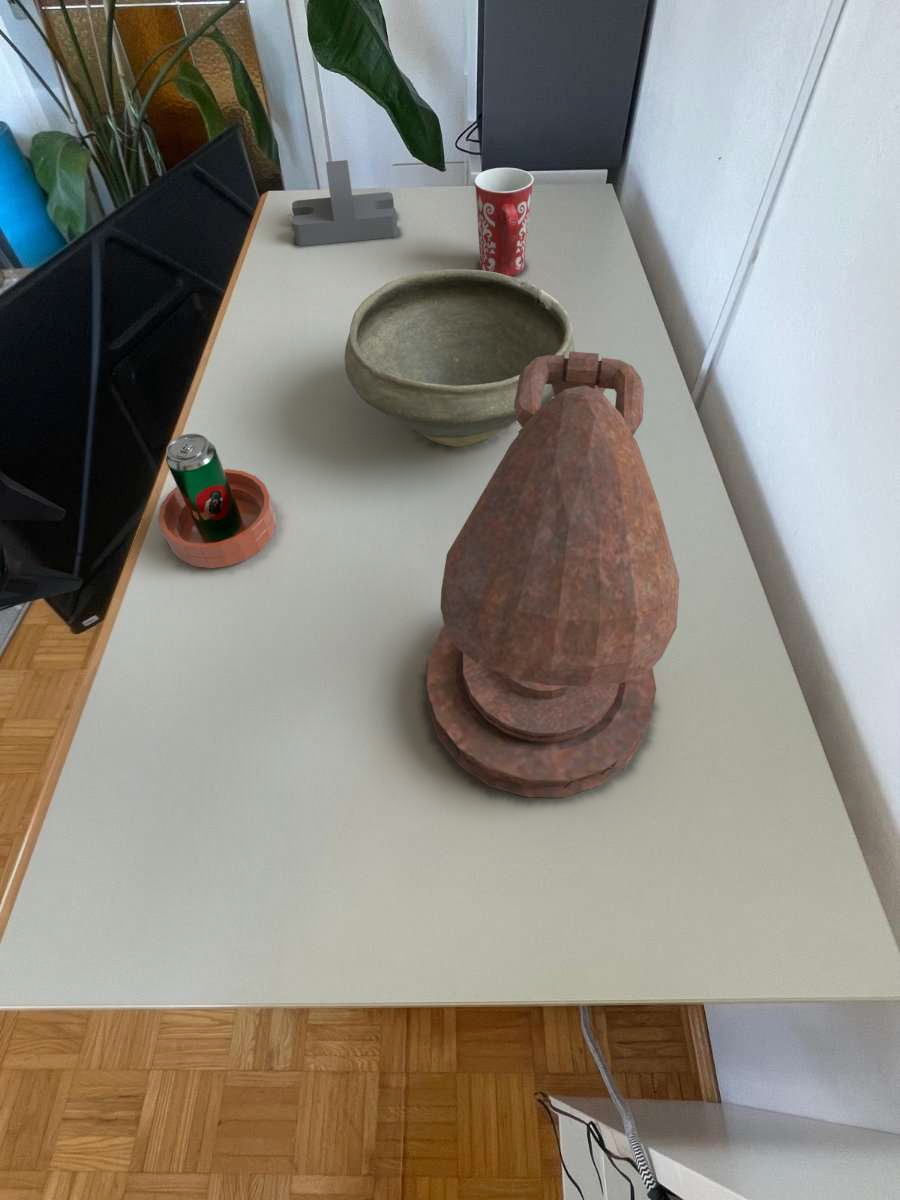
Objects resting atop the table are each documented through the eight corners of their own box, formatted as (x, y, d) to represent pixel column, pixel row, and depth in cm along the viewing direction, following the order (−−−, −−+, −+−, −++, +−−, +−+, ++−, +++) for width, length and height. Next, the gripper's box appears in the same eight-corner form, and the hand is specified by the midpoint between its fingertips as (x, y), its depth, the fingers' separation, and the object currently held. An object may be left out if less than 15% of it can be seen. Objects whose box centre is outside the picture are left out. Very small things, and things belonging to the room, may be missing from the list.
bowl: (475, 524, 80) (475, 427, 69) (312, 429, 92) (289, 331, 81) (607, 405, 93) (625, 306, 82) (449, 334, 104) (446, 238, 93)
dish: (165, 577, 77) (151, 553, 74) (177, 500, 84) (165, 475, 81) (276, 564, 78) (267, 540, 75) (278, 488, 85) (270, 464, 82)
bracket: (398, 236, 123) (392, 169, 115) (296, 246, 122) (282, 179, 114) (393, 212, 129) (387, 147, 120) (296, 221, 128) (283, 156, 119)
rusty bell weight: (389, 861, 58) (283, 532, 26) (453, 567, 77) (438, 168, 45) (648, 904, 55) (885, 598, 23) (648, 589, 74) (779, 182, 42)
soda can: (251, 517, 81) (221, 435, 72) (230, 548, 79) (196, 467, 69) (213, 508, 82) (179, 426, 73) (191, 538, 80) (152, 458, 70)
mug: (471, 255, 118) (471, 168, 108) (524, 251, 119) (529, 164, 108) (479, 294, 111) (479, 205, 100) (535, 290, 111) (542, 200, 100)
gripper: (-124, 497, 42) (133, 552, 53) (-125, 343, 52) (90, 417, 64) (-173, 624, 46) (75, 649, 58) (-166, 458, 56) (43, 508, 68)
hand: (71, 548), depth 62 cm, fingers open, 9 cm apart
